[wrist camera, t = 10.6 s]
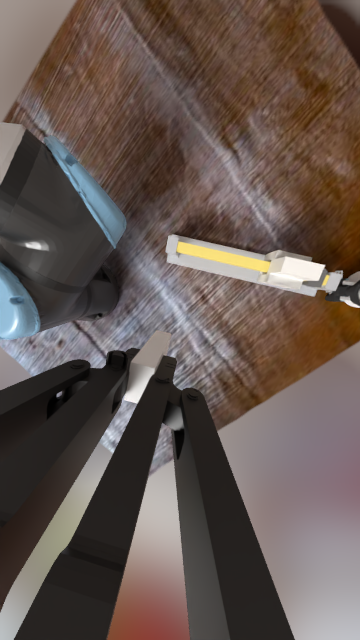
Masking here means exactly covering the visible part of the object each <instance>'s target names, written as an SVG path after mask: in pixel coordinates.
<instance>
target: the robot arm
mask: <svg viewBox="0 0 360 640" xmlns="http://www.w3.org/2000/svg"><path fill="white" fill-rule="evenodd" d="M44 142H45V144H43V143H42V142H41V141H40V140H38V139H37V138H36V137H35V136H34V135H33V134H32V133H31V132H30V131H28V130H27V129H26V128H25V127H24V126H23V125H19V124H11V123H3V122H0V339H6V340H7V339H8V340H11V339H17V338H22V337H26V336H32V335H35V334H36V333H38V332H41V331H44V330H47V329H50V328H53V327H56V326H59V325H62V324H65V323H67V322H70V321H73V320H82V321H95V320H99V319H101V318H104V317H106V316H107V315H109V314H110V313H111V312H112V311H113V310H114V308H115V307H116V304H117V302H118V296H119V290H118V285H117V282H116V279H115V277H114V275H113V274H112V273H111V271H110V270H109V269H108V268H107V267H106V266H104V265H103V263H104V262H105V260H106V259H107V258H108V256H109V255H110V253H111V252H112V251H113V249H115V248H116V244H117V243H118V241H119V239H120V238H121V236H122V235H123V233H124V232H125V230H126V219H125V216H124V214H123V213H122V212H121V210H120V209H119V208H118V207H117V205H116V204H115V203H114V202H113V200H112V199H111V198H110V197H109V196H108V195H107V193H106V192H105V191H104V190H103V189H102V188H101V186H100V185H99V184H98V183H97V182H96V181H95V180H94V178H93V177H92V176H91V175H90V174H89V173H88V172H87V170H86V169H85V168H84V167H83V166H82V165H81V164H80V163H79V162H78V161H77V159H76V158H75V157H74V156H73V155H72V154H71V153H70V152H69V150H68V149H67V148H66V147H65V146H64V145H63V144H62V143H61V142H60V141H59V140H58V139H57V138H56V137H55V136H52V135H50V136H48V137H44ZM170 338H171V334H170V333H166V332H162V331H158V330H156V331H155V333H154V334H153V335H152V336H151V338H150V339H149V340H148V341H147V343H146V344H145V345H144V346H143V348H142V349H141V350H140V349H136V348H131V349H128V350H127V351H126V352H124V351H119V350H114V351H110V352H108V353H107V360H106V365H105V366H104V367H103V368H90V366H91V365H90V363H89V362H88V361H86V360H81V359H78V360H72V361H69V362H67V363H64V364H62V365H59V366H57V367H55V368H52V369H50V370H48V371H45V372H43V373H41V374H38V375H36V376H33V377H31V378H29V379H27V380H24V381H22V382H19V383H17V384H15V385H12V386H10V387H7V388H5V389H3V390H0V612H1V609H2V607H3V604H4V602H5V599H6V597H7V594H8V593H9V591H10V589H11V587H12V585H13V583H14V581H15V579H16V578H17V576H18V575H19V573H20V571H21V569H22V568H23V566H24V565H25V563H26V561H27V560H28V558H29V556H30V555H31V553H32V551H33V549H34V548H35V546H36V545H37V543H38V542H39V540H40V538H41V536H42V535H43V533H44V531H45V530H46V528H47V527H48V525H49V523H50V521H51V520H52V518H53V517H54V515H55V513H56V511H57V510H58V508H59V507H60V505H61V503H62V502H63V500H64V498H65V497H66V495H67V493H68V492H69V490H70V488H71V487H72V485H73V483H74V482H75V480H76V479H77V477H78V475H79V474H80V472H81V470H82V469H83V467H84V465H85V464H86V462H87V460H88V459H89V457H90V456H91V454H92V452H93V451H94V449H95V447H96V446H97V444H98V442H99V441H100V439H101V437H102V436H103V434H104V432H105V431H106V429H107V427H108V426H109V424H110V423H111V421H112V419H113V418H114V416H115V414H116V413H117V411H118V409H119V408H120V406H121V403H122V398H123V396H124V395H125V399H124V400H127V401H130V402H134V403H138V404H137V406H136V408H135V410H134V412H133V414H132V416H131V418H130V420H129V422H128V425H127V427H126V429H125V431H124V433H123V435H122V437H121V439H120V441H119V443H118V445H117V447H116V449H115V451H114V453H113V455H112V458H111V460H110V462H109V464H108V466H107V468H106V470H105V472H104V474H103V476H102V478H101V480H100V482H99V484H98V486H97V488H96V490H95V492H94V494H93V496H92V498H91V500H90V502H89V505H88V507H87V509H86V511H85V513H84V515H83V517H82V519H81V521H80V523H79V525H78V527H77V529H76V531H75V533H74V535H73V537H72V539H71V541H70V543H69V544H68V546H67V547H66V548H65V549H64V550H63V551H62V552H61V553H60V554H59V556H58V557H57V559H56V560H55V562H54V564H53V565H52V567H51V569H50V571H49V573H48V574H47V576H46V578H45V580H44V582H43V584H42V586H41V587H40V589H39V591H38V593H37V595H36V597H35V599H34V601H33V603H32V605H31V607H30V609H29V611H28V613H27V615H26V617H25V619H24V621H23V623H22V625H21V627H20V628H19V630H18V632H17V634H16V637H15V638H14V640H107V638H108V634H109V629H110V625H111V622H112V618H113V614H114V610H115V606H116V602H117V597H118V594H119V590H120V586H121V582H122V578H123V574H124V570H125V567H126V563H127V558H128V555H129V550H130V547H131V543H132V539H133V535H134V531H135V527H136V523H137V519H138V515H139V511H140V507H141V503H142V499H143V495H144V491H145V487H146V484H147V480H148V476H149V472H150V468H151V464H152V460H153V456H154V452H155V448H156V444H157V440H158V436H159V432H160V428H161V424H162V423H164V424H165V425H167V426H169V427H170V428H172V431H171V433H172V444H173V455H174V466H175V477H176V488H177V499H178V510H179V521H180V532H181V543H182V554H183V565H184V575H185V586H186V598H187V609H188V621H189V630H190V631H189V632H190V640H295V639H294V636H293V634H292V631H291V629H290V626H289V623H288V620H287V618H286V615H285V612H284V610H283V607H282V604H281V602H280V599H279V597H278V594H277V591H276V588H275V586H274V583H273V580H272V578H271V575H270V572H269V570H268V567H267V564H266V561H265V559H264V556H263V553H262V551H261V548H260V545H259V543H258V540H257V537H256V535H255V532H254V530H253V527H252V524H251V521H250V518H249V516H248V513H247V510H246V508H245V505H244V502H243V500H242V497H241V494H240V492H239V489H238V487H237V484H236V481H235V478H234V476H233V473H232V470H231V468H230V465H229V462H228V460H227V457H226V454H225V451H224V449H223V447H222V443H221V441H220V438H219V436H218V433H217V430H216V427H215V425H214V422H213V419H212V417H211V414H210V411H209V409H208V406H207V403H206V401H205V398H204V396H203V394H202V393H201V392H200V391H198V390H196V389H194V388H185V389H183V390H180V389H178V388H177V387H176V386H175V385H174V384H173V376H174V372H175V368H176V364H177V361H176V358H173V357H169V356H167V352H168V347H169V343H170ZM61 391H62V395H61V396H60V397H56V395H57V393H59V392H61Z"/></svg>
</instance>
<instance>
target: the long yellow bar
mask: <svg viewBox="0 0 360 640" xmlns="http://www.w3.org/2000/svg"><path fill="white" fill-rule="evenodd" d="M176 251H177V252H178V253H182V254H186V255H191V256H195V257H199V258H204V259H208V260H212V261H217V262H221V263H225V264H230V265H234V266H238V267H243V268H247V269H251V270H256V271H260V272H265V273H267V272H268V269H269V266H270V263H271V262H267V261H263V260H258V259H254V258H250V257H245V256H241V255H236V254H232V253H228V252H223V251H219V250H214V249H210V248H206V247H201V246H197V245H192V244H188V243H184V242H179V241H178V245H177V250H176ZM327 272H328V271H326V270H323V271H322V274H321V276H320V279H319V281H303V282H302V285H305V286H310V287H321V286H322V285H326V283H327V281H328V278H329V275H327Z"/></svg>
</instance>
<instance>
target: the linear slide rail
mask: <svg viewBox="0 0 360 640" xmlns="http://www.w3.org/2000/svg"><path fill="white" fill-rule="evenodd" d="M178 241H179V242H184V243H188V244H192V245H197V246H201V247H206V248H210V249H214V250H219V251H223V252H228V253H232V254H236V255H241V256H245V257H250V258H254V259H258V260H263V261H264V258H265V255H262V254H257V253H253V252H249V251H244V250H240V249H235V248H231V247H226V246H222V245H218V244H213V243H209V242H204V241H200V240H196V239H191V238H187V237H182V236H178V235H173V234H172V236H168V241H167V247H166V253H168V258H167V262H168V263H173V264H177V265H181V266H185V267H190V268H194V269H198V270H202V271H207V272H211V273H215V274H220V275H224V276H228V277H232V278H237V279H241V280H245V281H250V282H254V283H258V284H262V285H267V286H271V287H275V288H280V289H284V290H288V291H292V292H297V293H301V294H305V295H309V296H315V294H316V292H317V289H318V290H329V291H336V289H337V287H338V285H339V282H340V280H341V278H342V276H343V275H341V274H337V273H332V272H330V273H327V275H329V278H328V281H327V283H326V285H322V286H321V287H310V286H305V285H301V287H300V289H290V288H283V287H278V286H274V285H270V284H265V283H261V282H257V279H258V276H259V273H260V271H256V270H251V269H247V268H243V267H238V266H234V265H230V264H225V263H221V262H217V261H212V260H208V259H204V258H199V257H195V256H191V255H186V254H182V253H178V252H177V251H176V250H177V245H178ZM323 270H326V269H323Z"/></svg>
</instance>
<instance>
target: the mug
mask: <svg viewBox="0 0 360 640" xmlns="http://www.w3.org/2000/svg"><path fill="white" fill-rule="evenodd" d="M347 279H349V282H357V281H359V280H360V271H359V272H356V273H354V274H352V275H351V276H350V277H348V278H347ZM348 297H350V296H348ZM345 303H346V304H348V305H350V306H353V307H358V308H360V306H358V305H357V304H354V303H352V302H351V301H350V300H345Z"/></svg>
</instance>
